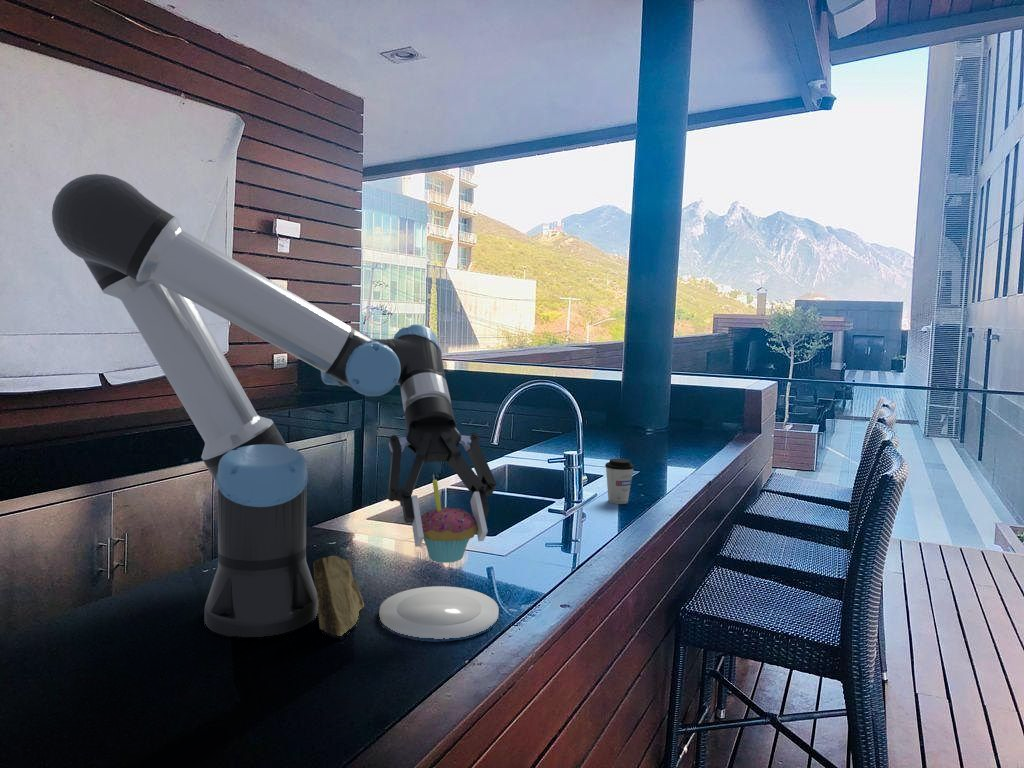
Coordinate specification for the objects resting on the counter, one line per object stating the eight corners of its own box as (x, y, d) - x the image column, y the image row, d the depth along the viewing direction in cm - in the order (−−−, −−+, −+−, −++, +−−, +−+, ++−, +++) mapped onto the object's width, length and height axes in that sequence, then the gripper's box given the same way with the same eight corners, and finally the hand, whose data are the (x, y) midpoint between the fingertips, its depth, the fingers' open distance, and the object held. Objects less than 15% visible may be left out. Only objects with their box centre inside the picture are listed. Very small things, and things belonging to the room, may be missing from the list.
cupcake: (420, 569, 100) (421, 482, 98) (412, 549, 108) (413, 469, 107) (482, 564, 102) (484, 480, 101) (469, 545, 110) (470, 467, 109)
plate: (390, 648, 95) (390, 638, 94) (371, 599, 111) (371, 590, 110) (514, 634, 100) (515, 624, 100) (479, 589, 116) (479, 581, 116)
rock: (343, 583, 110) (288, 593, 102) (372, 545, 108) (318, 552, 100) (378, 644, 105) (322, 659, 97) (409, 605, 102) (355, 618, 94)
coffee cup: (597, 499, 177) (599, 458, 176) (622, 497, 180) (624, 456, 179) (613, 506, 171) (615, 464, 170) (638, 503, 174) (640, 462, 173)
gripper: (487, 421, 121) (517, 545, 108) (357, 425, 114) (371, 558, 101) (497, 393, 116) (530, 520, 102) (362, 395, 109) (378, 531, 95)
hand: (451, 539), depth 101 cm, fingers closed on cupcake, 8 cm apart
